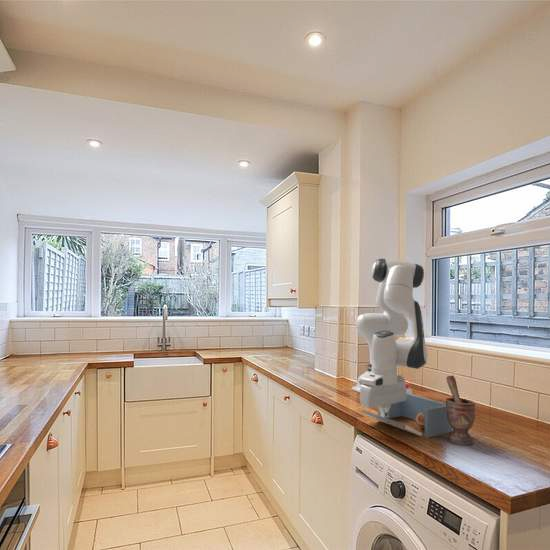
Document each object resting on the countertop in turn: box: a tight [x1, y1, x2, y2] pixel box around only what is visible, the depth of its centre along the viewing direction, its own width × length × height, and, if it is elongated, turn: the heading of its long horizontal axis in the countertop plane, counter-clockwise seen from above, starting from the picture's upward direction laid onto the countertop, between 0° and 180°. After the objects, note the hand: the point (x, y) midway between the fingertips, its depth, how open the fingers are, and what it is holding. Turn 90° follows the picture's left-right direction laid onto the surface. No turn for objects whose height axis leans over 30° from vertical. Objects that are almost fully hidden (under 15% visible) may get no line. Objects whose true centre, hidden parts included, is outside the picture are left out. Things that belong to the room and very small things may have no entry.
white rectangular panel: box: [361, 409, 423, 437], centre depth 138 cm, size 19×1×10 cm
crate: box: [377, 393, 453, 439], centre depth 144 cm, size 22×13×9 cm, turn 31°
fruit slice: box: [414, 412, 425, 430], centre depth 139 cm, size 8×7×5 cm
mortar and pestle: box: [445, 375, 476, 447], centre depth 130 cm, size 12×9×20 cm
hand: (384, 417), depth 139 cm, fingers closed
